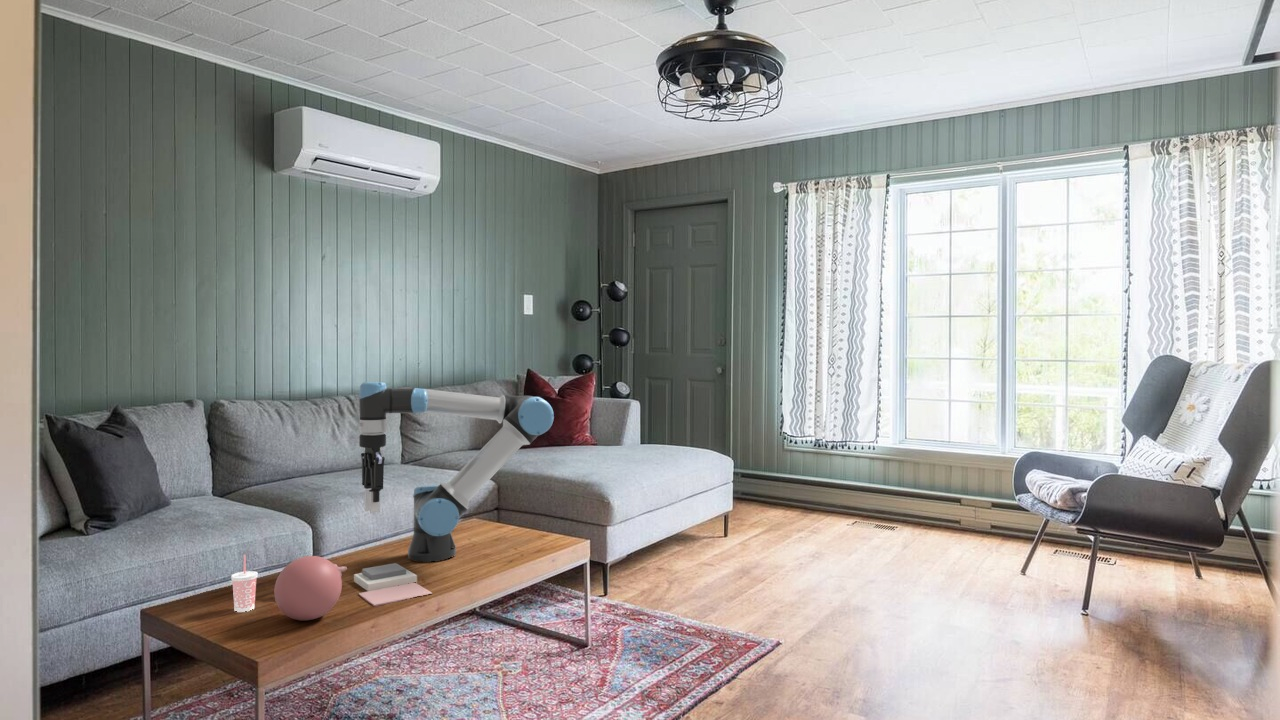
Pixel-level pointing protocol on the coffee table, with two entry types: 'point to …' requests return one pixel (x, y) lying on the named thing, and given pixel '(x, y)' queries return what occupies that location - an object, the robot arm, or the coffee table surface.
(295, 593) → the balloon
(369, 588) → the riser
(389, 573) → the coaster
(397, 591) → the felt mat
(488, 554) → the coffee table surface
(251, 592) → the beverage cup
